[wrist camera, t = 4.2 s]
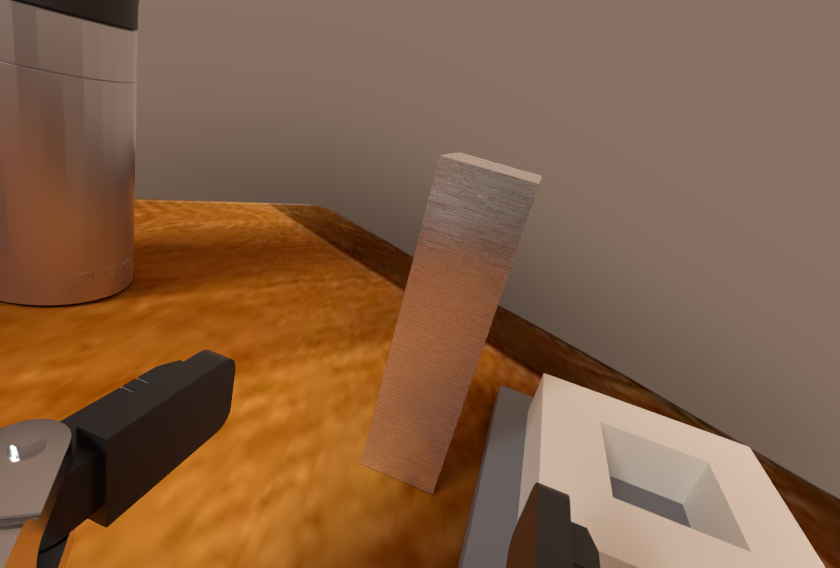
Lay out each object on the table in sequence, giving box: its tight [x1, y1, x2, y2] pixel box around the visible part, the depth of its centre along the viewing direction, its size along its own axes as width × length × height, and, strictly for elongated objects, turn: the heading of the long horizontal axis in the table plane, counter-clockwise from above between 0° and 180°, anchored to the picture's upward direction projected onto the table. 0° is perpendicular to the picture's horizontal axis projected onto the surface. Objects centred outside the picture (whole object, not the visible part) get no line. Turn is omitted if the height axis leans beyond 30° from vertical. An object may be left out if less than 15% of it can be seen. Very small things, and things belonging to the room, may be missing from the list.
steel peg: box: [361, 152, 542, 494], centre depth 22 cm, size 4×4×16 cm
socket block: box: [458, 373, 825, 568], centre depth 22 cm, size 16×16×4 cm
